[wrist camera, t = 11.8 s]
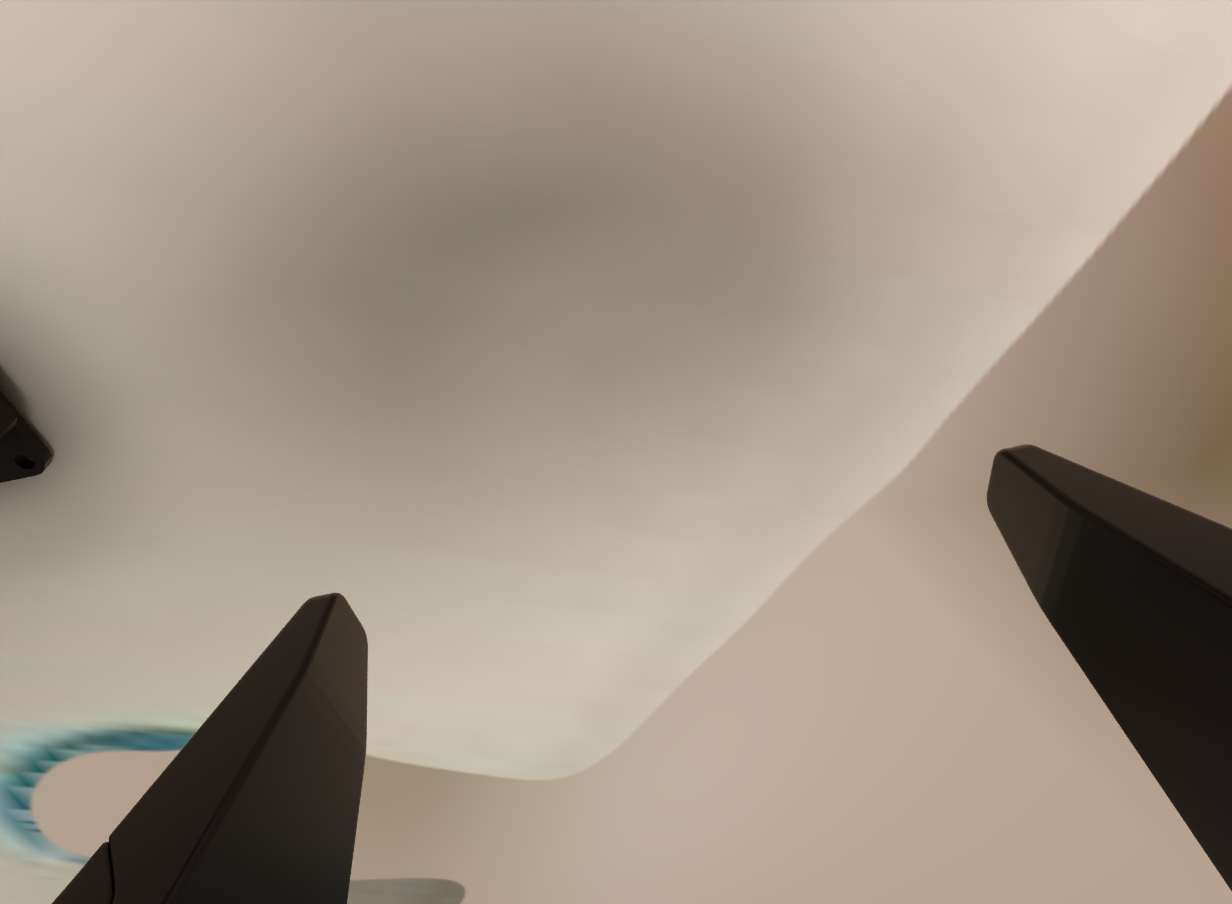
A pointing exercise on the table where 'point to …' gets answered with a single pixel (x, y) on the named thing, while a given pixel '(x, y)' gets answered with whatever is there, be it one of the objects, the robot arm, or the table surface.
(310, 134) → the table surface
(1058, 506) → the robot arm
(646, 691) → the table surface
